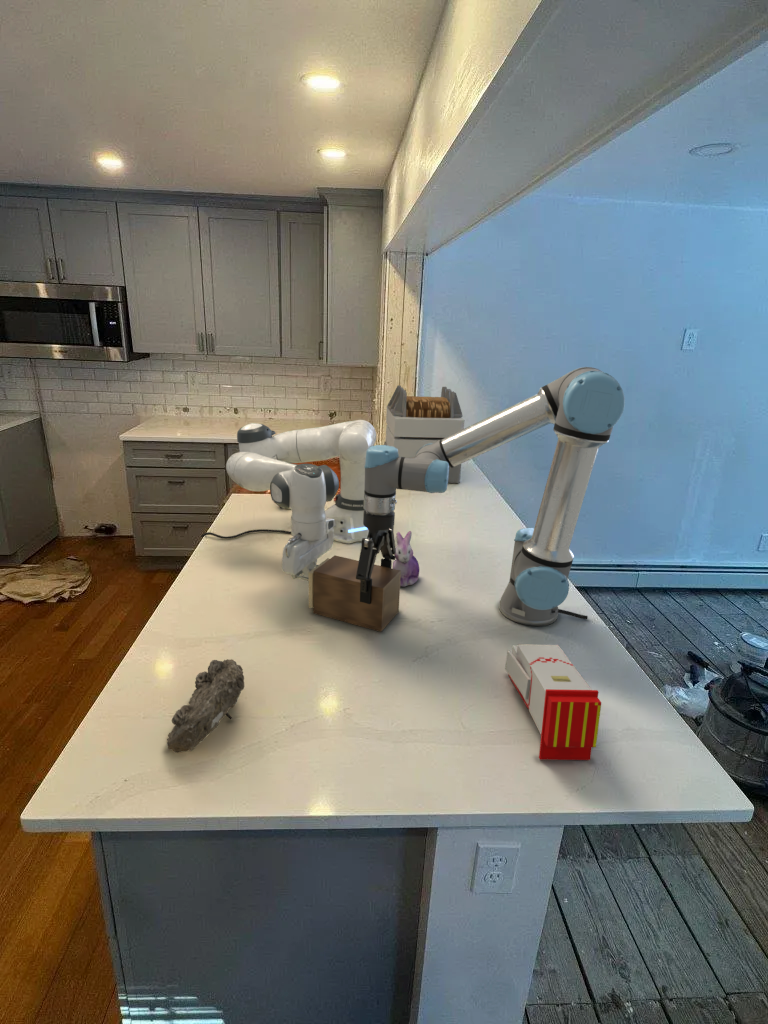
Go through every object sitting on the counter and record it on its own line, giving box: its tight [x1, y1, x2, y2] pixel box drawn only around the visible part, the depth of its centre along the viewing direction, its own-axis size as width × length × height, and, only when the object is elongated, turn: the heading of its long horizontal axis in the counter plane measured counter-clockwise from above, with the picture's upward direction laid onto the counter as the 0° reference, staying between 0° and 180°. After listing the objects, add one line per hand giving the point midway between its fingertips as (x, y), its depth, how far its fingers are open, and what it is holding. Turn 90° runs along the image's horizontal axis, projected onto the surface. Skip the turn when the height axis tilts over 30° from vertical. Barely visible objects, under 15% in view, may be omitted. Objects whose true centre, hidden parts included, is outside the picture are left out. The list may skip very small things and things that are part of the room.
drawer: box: [290, 558, 330, 609], centre depth 147 cm, size 24×10×10 cm, turn 66°
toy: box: [504, 643, 602, 761], centre depth 112 cm, size 12×13×30 cm
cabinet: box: [312, 554, 401, 633], centre depth 145 cm, size 19×11×12 cm, turn 66°
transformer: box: [383, 384, 465, 484], centre depth 268 cm, size 34×33×41 cm
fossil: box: [166, 658, 245, 754], centre depth 106 cm, size 22×10×15 cm
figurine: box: [392, 530, 420, 588], centre depth 163 cm, size 9×10×15 cm
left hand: (308, 576), depth 150 cm, fingers closed
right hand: (375, 592), depth 143 cm, fingers closed on cabinet, 11 cm apart
